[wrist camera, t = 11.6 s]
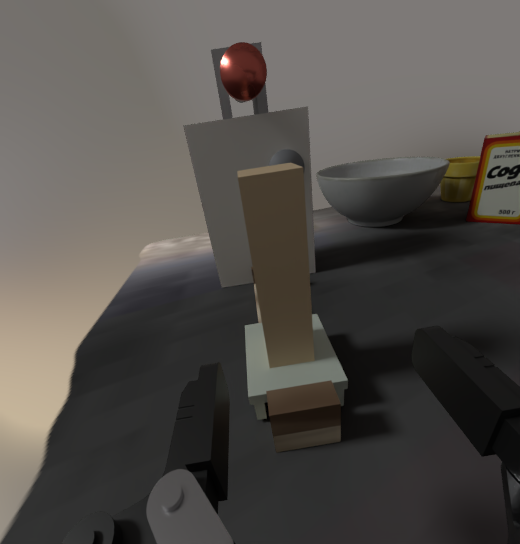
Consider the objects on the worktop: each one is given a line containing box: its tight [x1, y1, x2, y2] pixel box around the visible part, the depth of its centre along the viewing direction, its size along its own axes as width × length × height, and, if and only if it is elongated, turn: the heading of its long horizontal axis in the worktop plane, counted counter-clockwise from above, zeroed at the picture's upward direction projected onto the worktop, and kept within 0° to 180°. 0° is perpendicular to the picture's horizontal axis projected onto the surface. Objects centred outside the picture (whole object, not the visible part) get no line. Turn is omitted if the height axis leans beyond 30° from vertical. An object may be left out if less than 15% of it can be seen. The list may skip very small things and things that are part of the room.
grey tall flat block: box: [184, 42, 316, 288], centre depth 40 cm, size 9×16×31 cm, turn 95°
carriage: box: [237, 163, 348, 420], centre depth 22 cm, size 9×8×19 cm
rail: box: [251, 267, 341, 452], centre depth 30 cm, size 25×5×4 cm, turn 5°
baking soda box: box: [466, 132, 520, 224], centre depth 51 cm, size 10×6×16 cm
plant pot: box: [440, 157, 480, 202], centre depth 67 cm, size 10×10×10 cm
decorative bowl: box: [316, 157, 450, 227], centre depth 62 cm, size 27×27×12 cm
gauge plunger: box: [220, 42, 267, 103], centre depth 30 cm, size 11×4×4 cm, turn 5°
